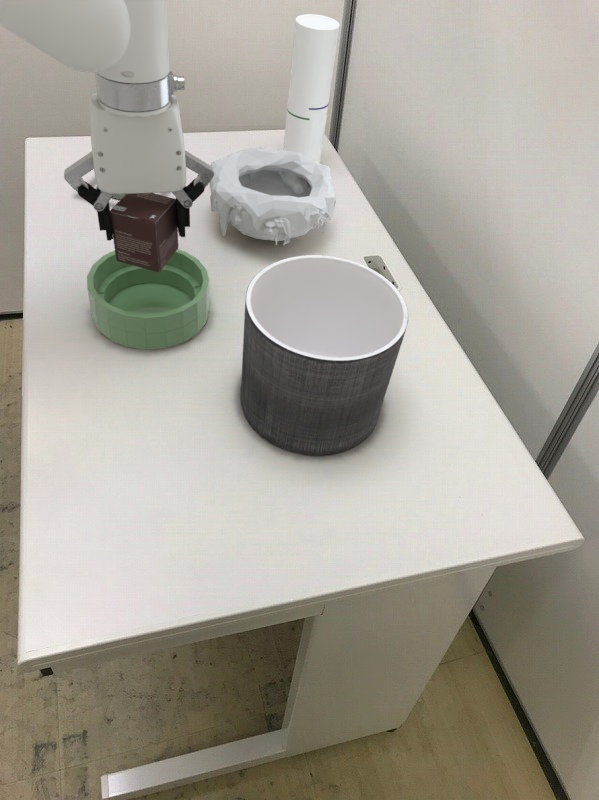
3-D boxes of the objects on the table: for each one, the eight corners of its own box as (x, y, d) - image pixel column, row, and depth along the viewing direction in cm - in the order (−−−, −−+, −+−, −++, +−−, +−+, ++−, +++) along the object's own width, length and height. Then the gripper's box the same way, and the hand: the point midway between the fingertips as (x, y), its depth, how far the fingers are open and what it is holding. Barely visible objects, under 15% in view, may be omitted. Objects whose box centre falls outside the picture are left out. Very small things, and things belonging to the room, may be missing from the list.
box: (179, 249, 83) (178, 198, 78) (159, 274, 79) (155, 223, 74) (137, 237, 84) (132, 186, 79) (114, 261, 80) (108, 209, 75)
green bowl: (94, 357, 82) (88, 321, 78) (91, 282, 92) (85, 246, 88) (216, 347, 86) (216, 312, 81) (200, 275, 96) (199, 241, 91)
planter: (230, 446, 75) (234, 348, 63) (249, 344, 87) (255, 245, 75) (380, 465, 75) (412, 371, 64) (378, 360, 87) (405, 265, 76)
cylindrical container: (323, 176, 120) (345, 30, 101) (286, 178, 118) (302, 29, 100) (313, 157, 124) (332, 14, 106) (277, 158, 122) (290, 13, 104)
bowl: (238, 182, 115) (240, 127, 108) (345, 213, 112) (355, 159, 104) (185, 240, 101) (183, 181, 94) (305, 278, 98) (314, 221, 91)
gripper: (212, 73, 71) (211, 213, 84) (45, 71, 67) (71, 218, 80) (222, 103, 66) (220, 246, 79) (44, 103, 62) (72, 254, 75)
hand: (145, 231), depth 79 cm, fingers closed on box, 8 cm apart
